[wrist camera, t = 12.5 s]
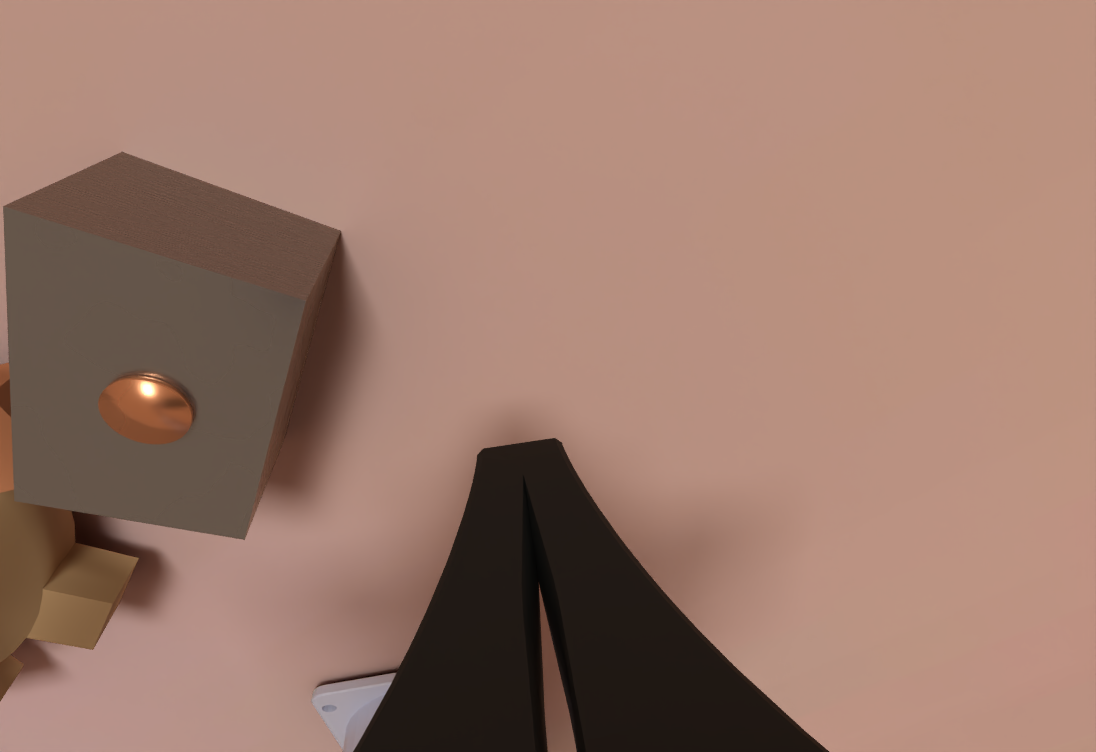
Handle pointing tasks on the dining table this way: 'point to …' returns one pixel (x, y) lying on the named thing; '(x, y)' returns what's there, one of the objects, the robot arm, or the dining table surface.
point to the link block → (155, 343)
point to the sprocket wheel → (48, 569)
